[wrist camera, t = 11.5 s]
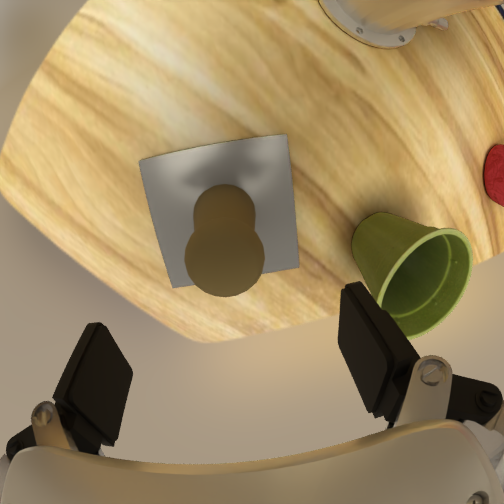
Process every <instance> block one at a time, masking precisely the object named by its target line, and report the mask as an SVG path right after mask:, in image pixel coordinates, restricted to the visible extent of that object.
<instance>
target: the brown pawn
mask: <svg viewBox="0 0 504 504" xmlns="http://www.w3.org/2000/svg"><path fill="white" fill-rule="evenodd" d="M255 219H256V212H255V205H254V203H253V201H252V199H251V197H250V196H249V195H248V194H247V193H246V192H245V191H244V190H243V189H241V188H239V187H237V186H234V185H228V184H221V185H215V186H212V187H211V188H209V189H207V190H205V191H204V192H203V193H202V194H201V195H200V196H199V197H198V199H197V201H196V203H195V206H194V213H193V221H194V232H193V233H192V235H191V236H190V238H189V241H188V243H187V245H186V248H185V257H184V262H185V266H186V269H187V273H188V276H189V277H190V278H191V280H192V281H193V283H194V284H195V285H196V286H197V287H199V288H200V289H201V290H203V291H204V292H206V293H209V294H211V295H214V296H219V297H230V296H236V295H238V294H241V293H243V292H245V291H247V290H248V289H249V288H251V287H252V286H253V285H254V284H255V283H256V282H257V281H258V279H259V277H260V276H261V274H262V271H263V266H264V262H265V253H264V247H263V244H262V242H261V240H260V238H259V236H258V234H257V233H256V232H255Z"/></svg>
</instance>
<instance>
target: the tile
mask: <svg viewBox="0 0 504 504" xmlns="http://www.w3.org/2000/svg"><path fill="white" fill-rule="evenodd" d="M138 162H139V166H140V171H141V176H142V180H143V184H144V189H145V193H146V197H147V201H148V205H149V209H150V213H151V217H152V221H153V224H154V228H155V232H156V235H157V239H158V242H159V246H160V249H161V252H162V256H163V259H164V262H165V266H166V269H167V272H168V275H169V278H170V281H171V284H172V287H173V288H177V287H184V286H191V285H195V284H194V283H193V281H192V280H191V278H190V277H189V276H188V273H187V269H186V266H185V262H184V257H185V248H186V245H187V243H188V241H189V238H190V236H191V235H192V233H193V232H194V221H193V213H194V206H195V203H196V201H197V199H198V197H199V196H200V195H201V194H202V193H203V192H204V191H205V190H207V189H209V188H211V187H212V186H215V185H221V184H228V185H234V186H237V187H239V188H241V189H243V190H244V191H245V192H246V193H247V194H248V195H249V196H250V197H251V199H252V201H253V203H254V205H255V212H256V219H255V232H256V233H257V234H258V236H259V238H260V240H261V242H262V244H263V247H264V253H265V262H264V266H263V271H262V274H265V273H270V272H276V271H282V270H288V269H293V268H299V255H298V240H297V227H296V215H295V204H294V193H293V183H292V173H291V164H290V155H289V147H288V138H287V134H280V135H271V136H262V137H254V138H247V139H240V140H234V141H227V142H221V143H216V144H210V145H205V146H199V147H194V148H190V149H185V150H180V151H176V152H171V153H167V154H163V155H159V156H155V157H151V158H147V159H143V160H140V161H138Z"/></svg>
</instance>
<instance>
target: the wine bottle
mask: <svg viewBox="0 0 504 504" xmlns="http://www.w3.org/2000/svg"><path fill="white" fill-rule="evenodd" d="M484 179H485V186H486V190H487V193H488V195H489V196H490V198H491V199H492V200H493V201H495V202H496V203H498V204H500V205H501V206H503V207H504V145H496V146H494V147H493V148H492V149H491V150H490V152H489V154H488V157H487V160H486V164H485V171H484Z"/></svg>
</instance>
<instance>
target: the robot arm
mask: <svg viewBox="0 0 504 504" xmlns="http://www.w3.org/2000/svg"><path fill="white" fill-rule="evenodd" d="M319 3H320V5H321V6H322V8H323V9H324V11H325V12H326V14H327V15H328V16H329V17H330V18H331V20H332V21H333V22H334V23H335V24H336V25H338V26H339V27H340V28H341V29H342V30H343V31H345V32H346V33H348V34H349V35H350V36H352V37H354V38H355V39H357V40H359V41H361V42H363V43H366V44H368V45H370V46H374V47H378V48H385V49H391V48H397V47H400V46H403V45H405V44H407V43H409V42H410V41H411V40H412V39H413V37H414V35H415V33H416V28H417V26H420V25H424V26H428V25H431V26H433V27H435V28H438V29H440V30H443V31H445V30H447V28H448V22H447V20H446V19H445V18H443V17H446V16H450V15H454V14H457V13H461V12H465V11H470V10H474V9H479V8H484V7H489V6H495V5H501V4H504V0H319ZM338 345H339V348H340V350H341V352H342V355H343V357H344V359H345V361H346V364H347V366H348V368H349V370H350V372H351V375H352V377H353V379H354V381H355V384H356V386H357V388H358V391H359V393H360V395H361V398H362V400H363V402H364V405H365V407H366V410H367V411H368V413H371V412H372V413H373V415H374V417H375V418H378V417H381V416H383V415H384V418H385V420H386V421H388V423H387V426H386V428H385V430H384V431H381V432H378V433H375V434H371V435H368V436H365V437H362V438H359V439H356V440H352V441H349V442H345V443H342V444H338V445H334V446H330V447H326V448H322V449H318V450H314V451H310V452H305V453H301V454H295V455H290V456H285V457H278V458H272V459H265V460H257V461H248V462H237V463H223V464H165V463H150V462H139V461H130V460H122V459H115V458H110V457H105V455H104V453H103V452H102V450H101V448H100V447H101V444H103V445H106V446H112V447H114V443H115V441H116V440H117V439H118V435H119V431H120V426H121V422H122V417H123V413H124V409H125V404H126V400H127V396H128V392H129V388H130V384H131V381H132V376H133V371H132V368H131V367H130V365H129V363H128V362H127V360H126V359H125V357H124V356H123V354H122V352H121V351H120V349H119V347H118V346H117V344H116V342H115V341H114V339H113V337H112V335H111V334H110V332H109V330H108V328H107V327H106V326H104V325H103V324H102V323H100V322H97V323H89V324H88V325H87V326H86V328H85V330H84V332H83V333H82V335H81V337H80V339H79V341H78V343H77V345H76V347H75V349H74V351H73V353H72V355H71V357H70V359H69V361H68V363H67V365H66V368H65V370H64V372H63V374H62V376H61V378H60V381H59V383H58V385H57V387H56V390H55V392H54V394H53V397H52V398H53V399H54V400H55V401H56V402H55V405H54V404H53V403H52V402H50V401H43V402H41V403H39V404H38V405H37V406H36V407H35V408H34V410H33V412H32V415H31V423H32V425H30V426H29V427H27V428H26V429H24V430H23V431H21V432H20V433H18V434H16V435H15V436H14V437H12V438H11V439H10V440H9V441H8V443H7V447H6V454H7V455H5V454H4V455H3V456H2V457H1V459H0V504H504V400H503V398H502V394H501V392H500V391H499V389H498V388H497V387H496V386H495V385H493V384H491V383H487V382H483V381H479V380H475V379H471V378H466V377H462V376H458V375H455V374H452V369H451V366H450V365H449V363H448V362H447V361H446V360H445V359H443V358H442V357H438V356H433V355H429V356H424V357H422V358H420V356H419V355H418V354H417V352H416V350H415V349H414V348H413V346H412V345H411V343H410V342H409V340H408V339H407V337H406V336H405V335H404V333H403V332H402V330H401V329H400V328H399V326H398V325H397V323H396V322H395V321H394V319H393V318H392V317H391V315H390V314H389V313H388V312H387V311H386V310H382V309H381V308H380V306H379V305H378V303H377V302H376V301H375V299H374V298H373V297H372V295H371V294H370V293H369V291H368V290H367V289H366V287H365V286H364V285H363V284H362V282H360V281H359V282H354V283H350V284H346V285H345V289H342V290H341V299H340V316H339V330H338Z"/></svg>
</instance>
